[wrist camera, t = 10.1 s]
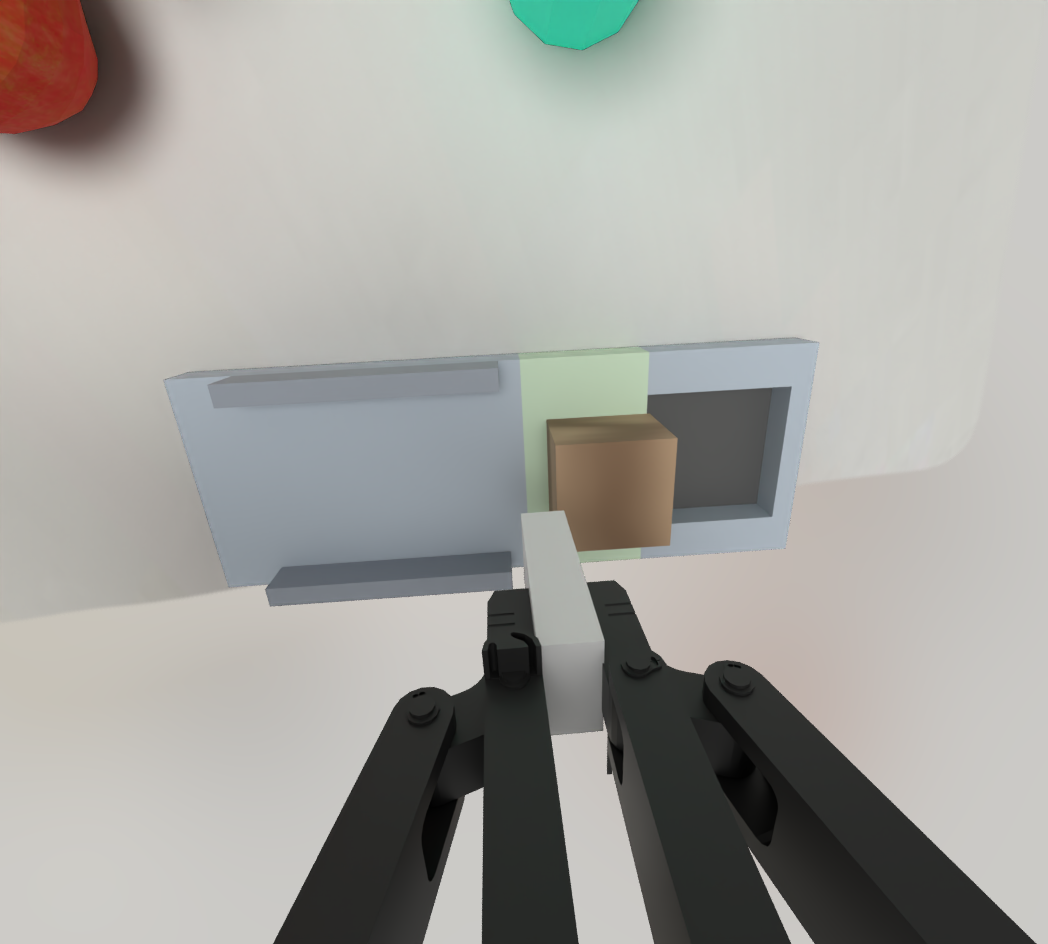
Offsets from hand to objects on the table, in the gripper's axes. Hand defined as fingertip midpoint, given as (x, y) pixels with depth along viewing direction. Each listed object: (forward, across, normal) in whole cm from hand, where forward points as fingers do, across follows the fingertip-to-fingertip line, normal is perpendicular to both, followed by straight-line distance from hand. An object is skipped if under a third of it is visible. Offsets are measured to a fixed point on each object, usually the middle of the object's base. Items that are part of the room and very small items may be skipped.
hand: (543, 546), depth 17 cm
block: (+8, +4, 0) cm, 8 cm away
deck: (+10, -1, 0) cm, 10 cm away
